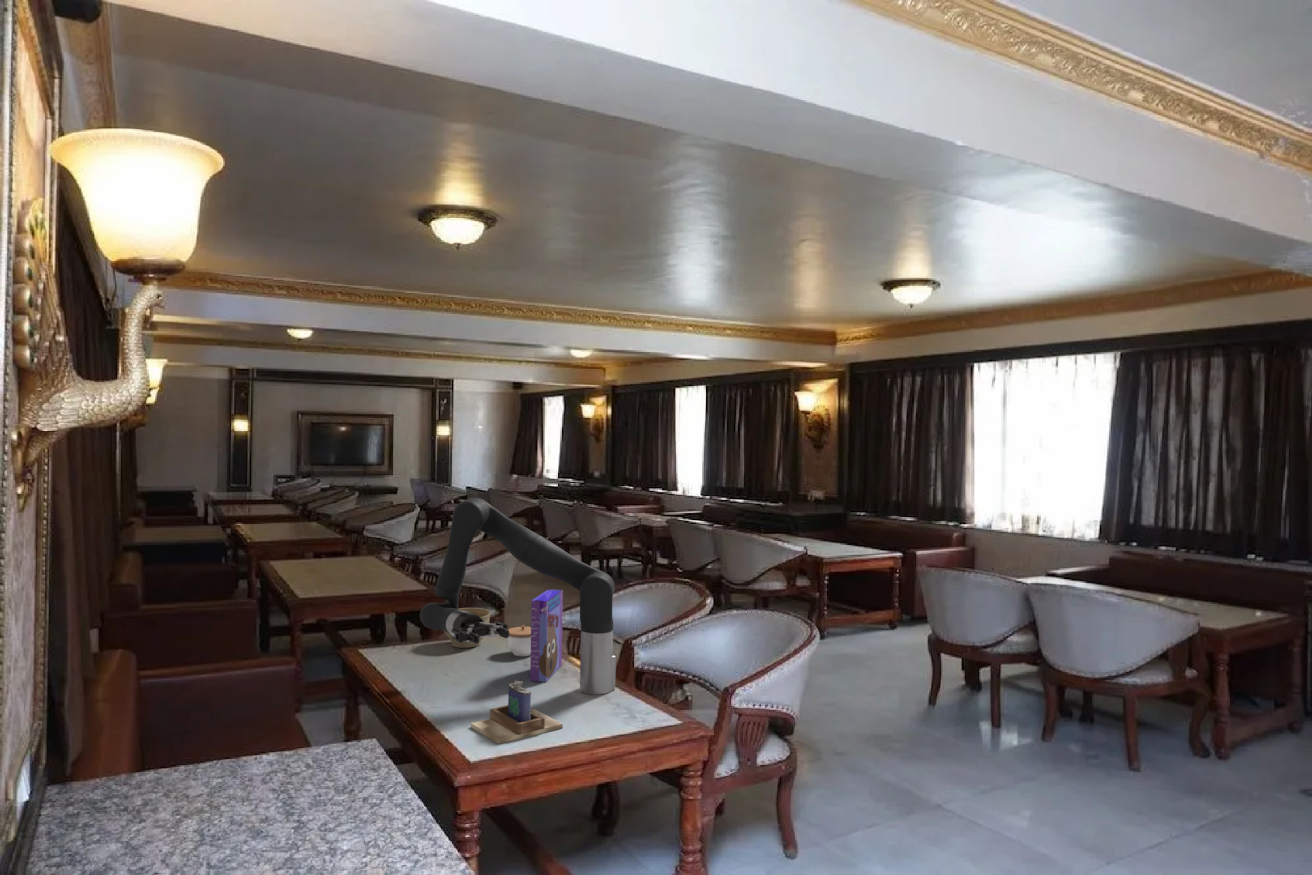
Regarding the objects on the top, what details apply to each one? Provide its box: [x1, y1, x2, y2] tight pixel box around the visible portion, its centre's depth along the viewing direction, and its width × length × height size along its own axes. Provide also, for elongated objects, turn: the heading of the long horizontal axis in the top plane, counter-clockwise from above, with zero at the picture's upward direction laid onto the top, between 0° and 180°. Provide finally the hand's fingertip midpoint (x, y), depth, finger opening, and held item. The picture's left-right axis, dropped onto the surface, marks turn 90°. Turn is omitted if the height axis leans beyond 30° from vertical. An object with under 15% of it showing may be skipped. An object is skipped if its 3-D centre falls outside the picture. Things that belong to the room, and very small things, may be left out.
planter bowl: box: [444, 607, 491, 649], centre depth 291 cm, size 16×16×11 cm
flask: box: [507, 680, 532, 723], centre depth 213 cm, size 9×3×11 cm, turn 38°
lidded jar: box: [506, 624, 531, 657], centre depth 281 cm, size 11×11×9 cm
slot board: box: [470, 704, 563, 745], centre depth 213 cm, size 18×14×4 cm
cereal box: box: [529, 588, 564, 683], centre depth 259 cm, size 17×5×24 cm, turn 171°
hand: (492, 636), depth 224 cm, fingers open, 8 cm apart
